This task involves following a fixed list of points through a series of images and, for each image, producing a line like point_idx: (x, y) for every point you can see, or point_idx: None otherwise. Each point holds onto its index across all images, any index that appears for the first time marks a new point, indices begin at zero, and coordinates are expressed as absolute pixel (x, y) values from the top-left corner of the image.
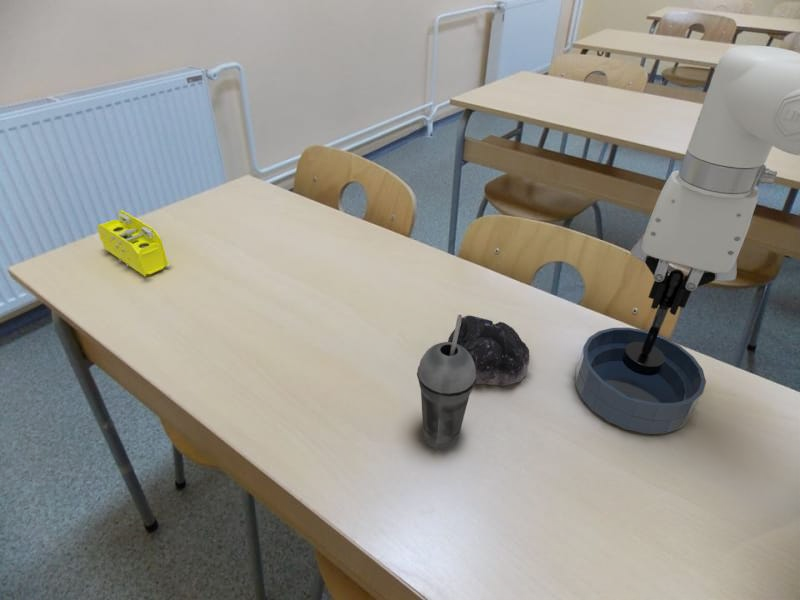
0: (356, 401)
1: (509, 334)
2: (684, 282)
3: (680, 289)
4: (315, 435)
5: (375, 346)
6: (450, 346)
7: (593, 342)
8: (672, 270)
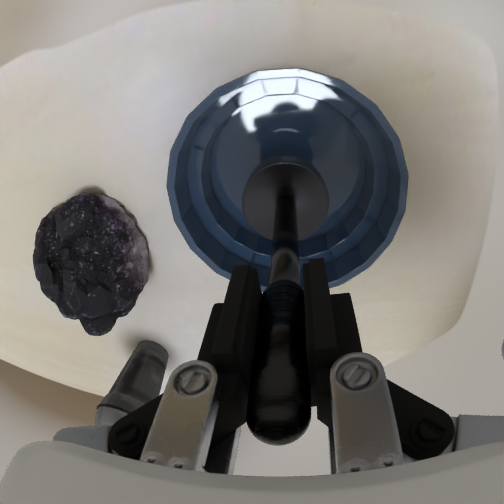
0: (86, 348)
1: (89, 300)
2: (321, 421)
3: (315, 405)
4: (102, 377)
5: (35, 291)
6: (100, 420)
7: (179, 174)
8: (249, 427)
